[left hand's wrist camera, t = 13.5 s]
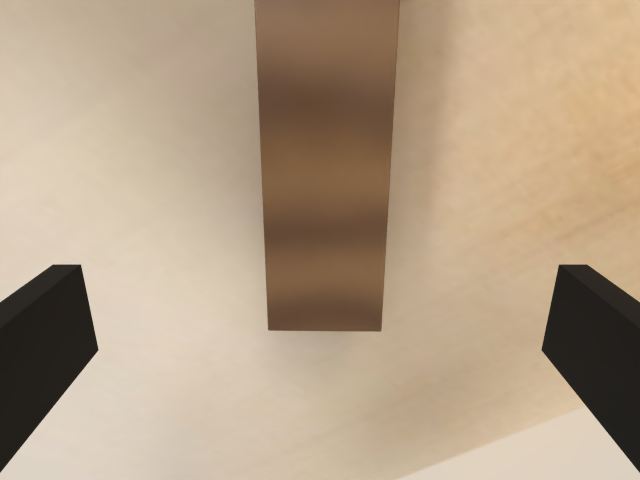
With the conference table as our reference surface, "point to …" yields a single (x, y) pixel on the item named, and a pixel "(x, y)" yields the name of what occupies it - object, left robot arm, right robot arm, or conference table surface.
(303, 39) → the post
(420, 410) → the conference table surface
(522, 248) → the conference table surface
